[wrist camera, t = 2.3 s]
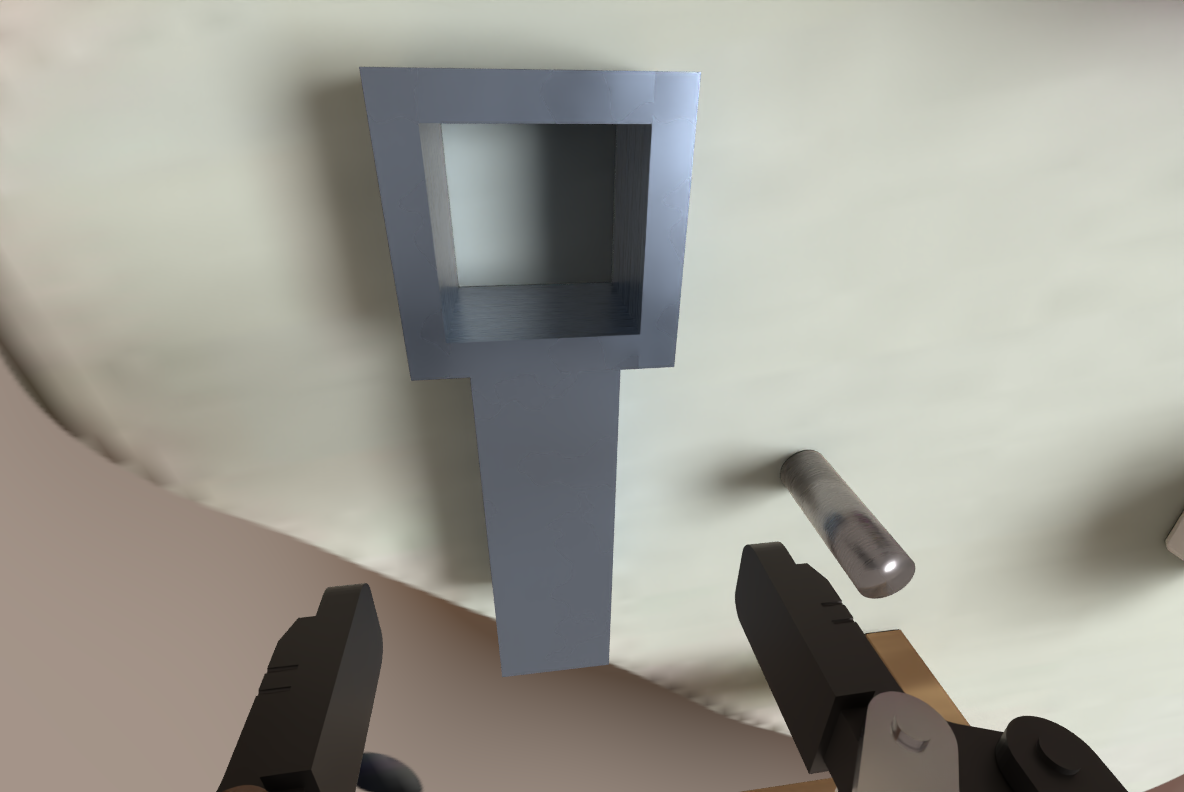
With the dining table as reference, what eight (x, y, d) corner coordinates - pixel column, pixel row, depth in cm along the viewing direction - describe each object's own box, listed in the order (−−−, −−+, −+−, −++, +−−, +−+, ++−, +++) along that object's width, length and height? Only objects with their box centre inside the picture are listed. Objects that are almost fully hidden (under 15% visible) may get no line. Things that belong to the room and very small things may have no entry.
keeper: (668, 657, 29) (719, 839, 22) (900, 629, 30) (1017, 790, 23) (662, 704, 31) (708, 884, 24) (881, 676, 32) (983, 837, 25)
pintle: (784, 451, 23) (865, 558, 18) (830, 448, 23) (922, 552, 18) (776, 490, 24) (851, 601, 19) (820, 486, 24) (905, 595, 19)
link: (396, 71, 15) (359, 66, 11) (652, 74, 16) (701, 72, 12) (468, 586, 24) (461, 682, 21) (625, 571, 25) (647, 659, 21)
